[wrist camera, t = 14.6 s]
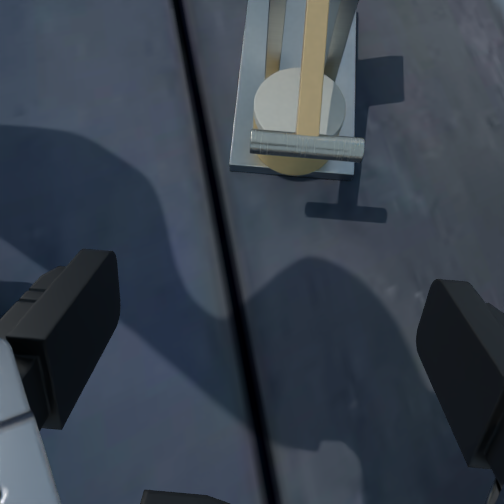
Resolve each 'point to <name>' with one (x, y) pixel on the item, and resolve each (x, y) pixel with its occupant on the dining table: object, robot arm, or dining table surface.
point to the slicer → (289, 56)
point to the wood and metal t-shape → (310, 104)
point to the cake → (294, 116)
